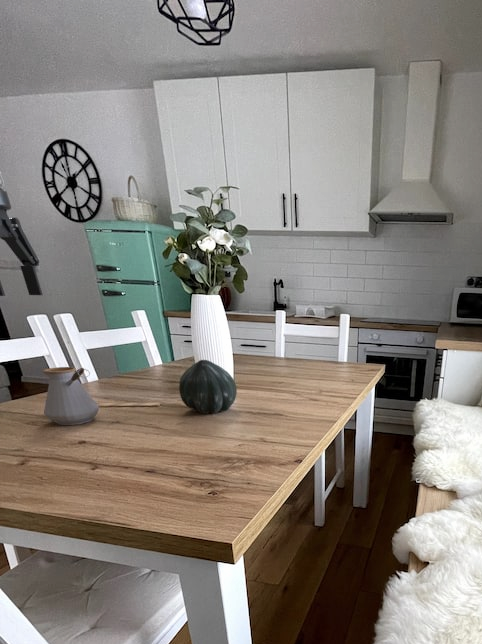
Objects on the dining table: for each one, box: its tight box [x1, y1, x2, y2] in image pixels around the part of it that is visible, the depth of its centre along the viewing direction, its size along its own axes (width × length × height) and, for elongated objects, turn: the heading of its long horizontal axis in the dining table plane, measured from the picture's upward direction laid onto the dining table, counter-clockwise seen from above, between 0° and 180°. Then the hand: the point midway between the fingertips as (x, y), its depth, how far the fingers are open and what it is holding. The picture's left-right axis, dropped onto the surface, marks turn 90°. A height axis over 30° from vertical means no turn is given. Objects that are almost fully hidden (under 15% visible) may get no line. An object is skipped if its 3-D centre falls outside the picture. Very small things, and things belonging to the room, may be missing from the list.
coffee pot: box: [42, 366, 100, 426], centre depth 94 cm, size 21×12×15 cm, turn 52°
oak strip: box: [96, 402, 162, 408], centre depth 114 cm, size 24×3×1 cm, turn 97°
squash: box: [178, 359, 238, 415], centre depth 109 cm, size 14×15×15 cm
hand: (18, 295), depth 93 cm, fingers open, 13 cm apart
